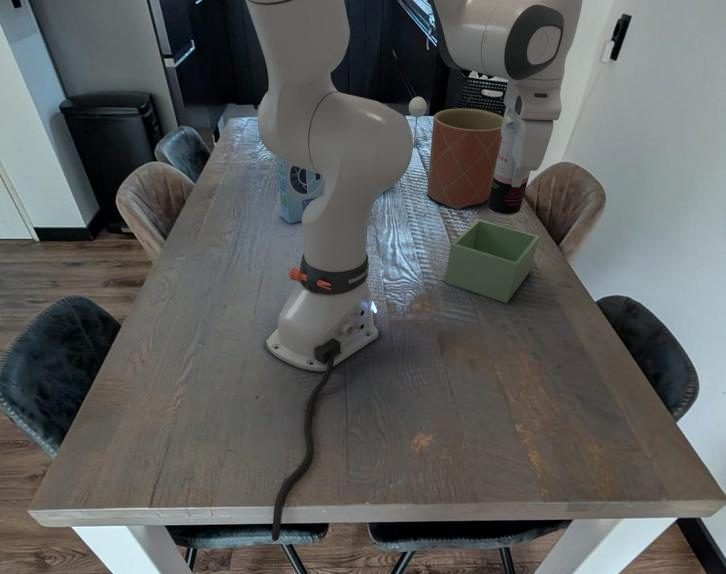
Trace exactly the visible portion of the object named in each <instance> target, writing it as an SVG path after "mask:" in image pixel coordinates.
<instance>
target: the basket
mask: <svg viewBox="0 0 726 574" xmlns="http://www.w3.org/2000/svg"><path fill="white" fill-rule="evenodd" d="M540 238H541V236H540V235H537V234H534V233H530V232H526V231H523V230H520V229H517V228H512V227H509V226H505V225H501V224H498V223H493V222H490V221H486V220H483V219H480V218H477V219H476V220H475V221H474V222H473V223H472V224H471V225H469V227H468V228H467V229H465V230H464V231H463V232H462V233H461V234H460V235H459V236H458V237H457V238H456V239H455V240H454V241H453V242H452V243H451V244H450V246H449V247H450V248H449V255H448V258H447V259H448V260H447V265H446V271H445V278H444V283H446V284H449V285H451V286H455V287H458V288H461V289H464V290H467V291H470V292H472V293H475V294H478V295H481V296H484V297H487V298H490V299H493V300H496V301H499V302H502V303H505V304H506V303H508V302H509V301H510V299H511V298H512V297H513V295H514V294H515V293H516V291H517V290H518V289H519V287H520V286H521V285H522V283H523V282H524V280H525V279H526V278H527V276H528V275H529V273H530V270H531V267H532V264H533V262H534V261H533V260H534V257H535V255H536V251H537V248H538V245H539V241H540Z"/></svg>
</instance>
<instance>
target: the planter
mask: <svg viewBox="0 0 726 574" xmlns="http://www.w3.org/2000/svg"><path fill="white" fill-rule="evenodd" d="M503 117H504V116H502V115H500V114H498V113H495V112H491V111H488V110H482V109H477V108H449V109H444V110H440V111H438V112H436V113H435V114H434V115H433V119H432V120H433V122H432V131H431V132H432V133H431V140H430V141H431V142H430V153H429V163H428V165H429V166H428V167H429V168H428V175H427V176H428V178H427V189H426V190H427V196H428V197H430V198H431V199H432V200H434V201H435V202H438V203H440V204H443V205H446V206H447V207H450V208H452V209H455V210H460V209H462V208H463V207H470V206H476V205H477V206H478V205H480V204H483V203H485V202H486V201H488V200H489V195H490V191H491V186H492V182H493V177H494V173H495V168H496V164H497V159H498V155H499V150H500V145H501V141H502V136H501V126H502V122H503Z"/></svg>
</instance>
